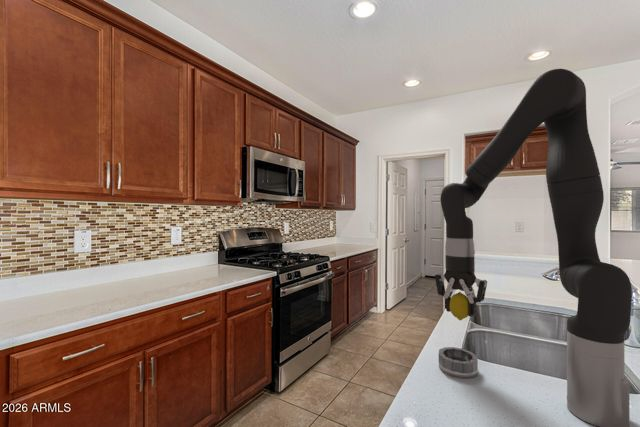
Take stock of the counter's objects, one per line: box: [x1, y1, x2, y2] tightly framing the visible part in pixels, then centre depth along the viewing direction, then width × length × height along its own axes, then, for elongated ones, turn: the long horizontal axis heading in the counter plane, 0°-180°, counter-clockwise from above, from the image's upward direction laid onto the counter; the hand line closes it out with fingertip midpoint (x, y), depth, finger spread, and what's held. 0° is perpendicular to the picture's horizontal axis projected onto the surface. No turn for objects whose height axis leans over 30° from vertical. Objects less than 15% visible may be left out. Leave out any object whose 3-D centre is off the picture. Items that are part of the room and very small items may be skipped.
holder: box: [438, 346, 479, 380], centre depth 85 cm, size 10×10×4 cm
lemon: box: [449, 291, 470, 321], centre depth 86 cm, size 6×6×8 cm
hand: (460, 313), depth 86 cm, fingers closed on lemon, 5 cm apart
